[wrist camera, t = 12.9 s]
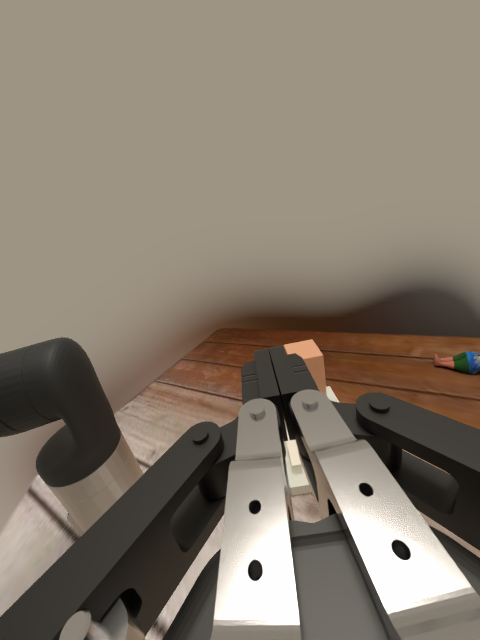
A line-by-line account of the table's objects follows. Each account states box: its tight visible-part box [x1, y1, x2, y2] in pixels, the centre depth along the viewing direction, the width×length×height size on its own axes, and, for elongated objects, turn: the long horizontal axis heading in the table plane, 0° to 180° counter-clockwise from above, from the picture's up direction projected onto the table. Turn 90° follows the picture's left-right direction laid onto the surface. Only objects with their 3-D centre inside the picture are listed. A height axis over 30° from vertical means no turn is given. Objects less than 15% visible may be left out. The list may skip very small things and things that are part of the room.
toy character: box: [434, 352, 480, 374], centre depth 53 cm, size 12×5×15 cm
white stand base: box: [284, 386, 339, 496], centre depth 46 cm, size 14×21×4 cm, turn 1°
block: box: [284, 340, 327, 396], centre depth 45 cm, size 6×6×16 cm
